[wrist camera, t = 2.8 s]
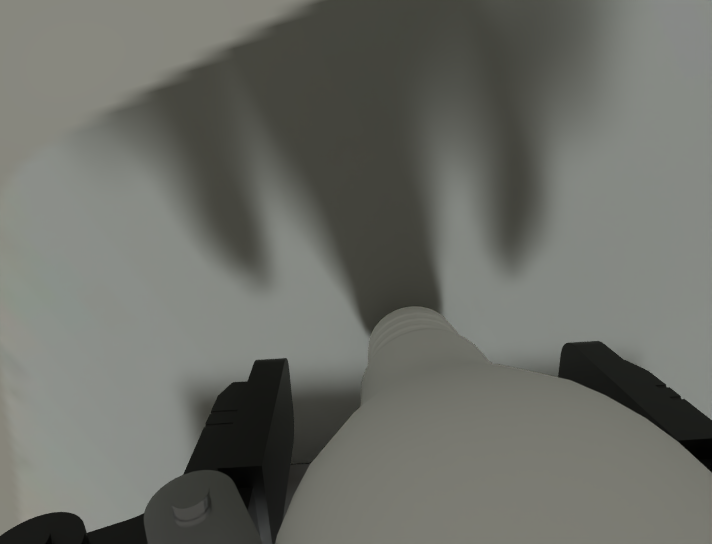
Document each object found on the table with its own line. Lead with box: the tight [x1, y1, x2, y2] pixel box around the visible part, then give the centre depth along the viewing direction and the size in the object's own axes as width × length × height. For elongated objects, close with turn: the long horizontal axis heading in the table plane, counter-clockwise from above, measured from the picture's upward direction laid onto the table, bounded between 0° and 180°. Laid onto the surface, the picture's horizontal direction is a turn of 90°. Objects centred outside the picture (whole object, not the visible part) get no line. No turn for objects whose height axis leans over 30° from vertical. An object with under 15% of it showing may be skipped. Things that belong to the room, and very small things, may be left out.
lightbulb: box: [275, 306, 712, 544], centre depth 8 cm, size 6×6×11 cm
